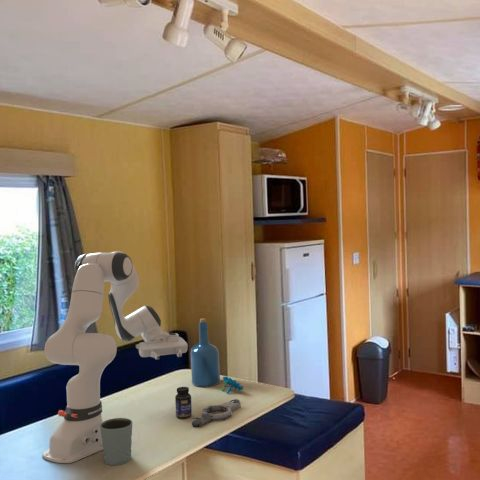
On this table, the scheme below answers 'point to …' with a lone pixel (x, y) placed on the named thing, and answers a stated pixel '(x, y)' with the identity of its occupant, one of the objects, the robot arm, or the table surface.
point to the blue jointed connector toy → (231, 384)
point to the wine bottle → (204, 359)
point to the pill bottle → (183, 403)
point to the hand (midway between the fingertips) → (169, 356)
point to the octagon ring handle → (209, 418)
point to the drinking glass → (116, 440)
